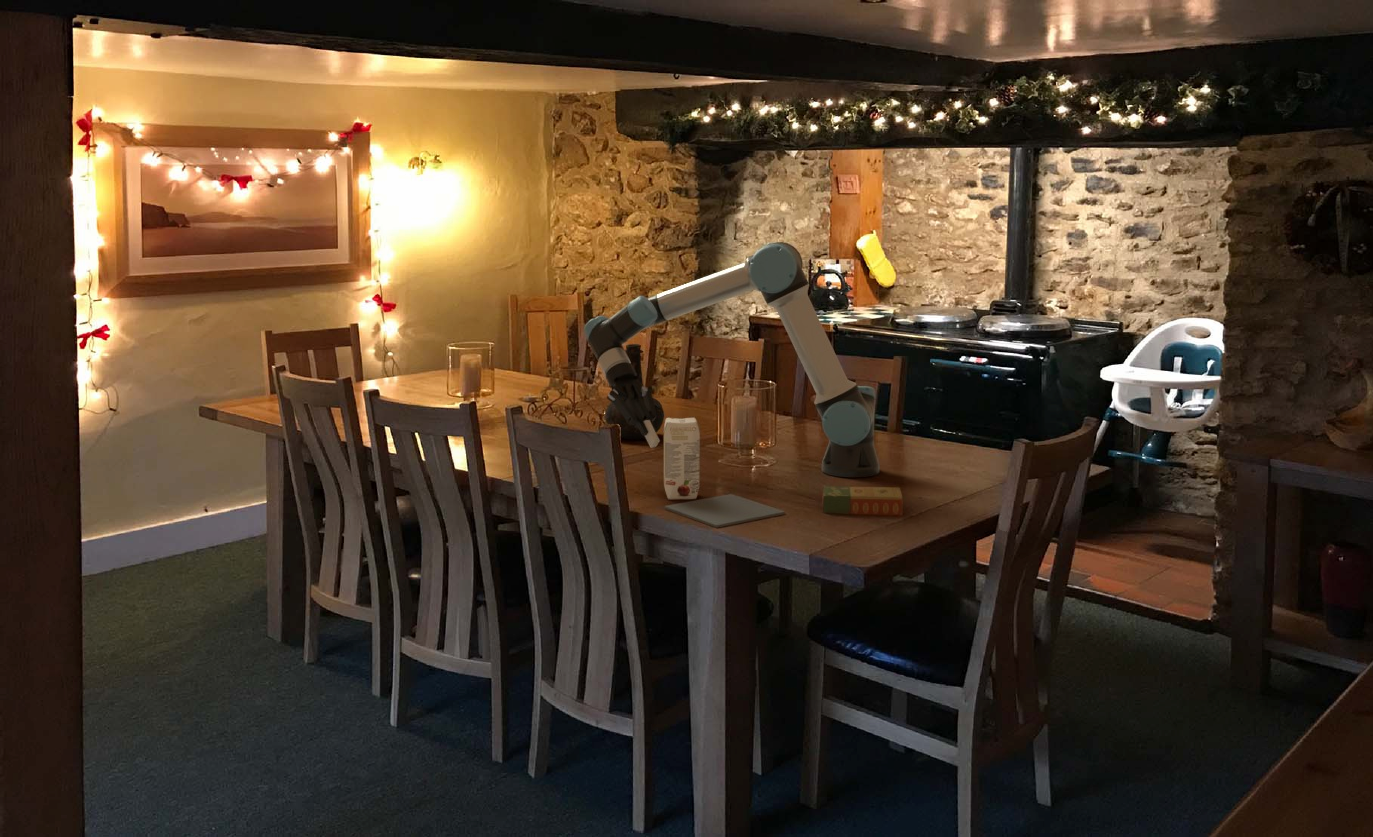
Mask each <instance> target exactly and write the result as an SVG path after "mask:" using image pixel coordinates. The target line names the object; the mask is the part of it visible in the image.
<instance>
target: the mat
mask: <svg viewBox="0 0 1373 837" xmlns="http://www.w3.org/2000/svg"><path fill="white" fill-rule="evenodd" d="M663 506H664V507H663V509H664V510H667V511H668V512H669V511H670V512H672V513H674V514H678V515H680V516H684V517H686V518H688V519H691V520H694V521H697V522H700V523H701V524H704V525H708V526H710V527H713V528H716V529H718V528H721V527H727V526H733V525H738V524H742V523H748V522H753V521H758V520H762V519H769V518H772V517H777V516H782V515H786V510H783V509H779V508H776V507H772V506H769V505H768V504H767V505H766V504H763V503H760V502H757V501H754V500H751V499H748V498H745V497H742V496H739V495H736V494H734V493H733V494H732V493H729V494H723V495H718V496H713V497H708V498H707V497H706V498H702V499H694V500H691V501H690V500H689V501H685V502H679V503H674V504H668V505H663Z"/></svg>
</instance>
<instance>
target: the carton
mask: <svg viewBox="0 0 1373 837" xmlns="http://www.w3.org/2000/svg"><path fill="white" fill-rule="evenodd" d="M821 504H822V505H821V507H822V508H821V509H822V513H823V514H845V515H849V514H851V515H875V516H878V515H879V516H880V515H881V516H903V508H904V507H903V494H902V490H901V487H897V486H895V487H894V486H891V487H889V486H851V485H850V486H847V485H845V486H844V485H842V486H841V485H823V488H822V494H821Z"/></svg>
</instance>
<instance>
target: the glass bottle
mask: <svg viewBox="0 0 1373 837" xmlns="http://www.w3.org/2000/svg"><path fill="white" fill-rule="evenodd" d="M641 347H642V344H637V343H636V344H633V343H630V344H629V343H628V344H626V345H625V349H624V350H625V352H626V354H627V356H628V358H629V360H630V362H631V364H632V366H633V368H634V370H635V372H636V374H637V379H638V381H639V382H640V383H641V384H642V386H643V387H644V381H643V373H642V371H643V370H642V356H641V354H643V353H644V352H645V351H644V350H642V349H641ZM641 394H642V392H641ZM652 398H653V402H654V406H655V410H656V414H657V417H656V418H655V420H654V421H653V424H654V426H655V428H656V433H657V432H659V430H660V429H661V427H662V426H663V423H664V422H665V412H664V409H663V406H662V403H661V402H660V401H659V400H658V399H656V398H654V397H652ZM642 399H643V401H644V396H642ZM604 413H605V414H604V418H605V419H604V420H605V424H606V425H607V424H619V425H620V427H621V438H622V439H625V440H643V439H646V438H645V436H643V435H642V434H641V432H640V430H639V428H635V427H634V426H635V424H633V425H629V423H628V422H627V421H626V420H625V418H624V417H623V416H622V414H621V413H620V412H619V410H618V409H617V408H616V406H615V405H614V404H613V403H612V402H611V401H610V402H609V404H608V405H607V407H606V409H605V412H604Z"/></svg>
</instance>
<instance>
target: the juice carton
mask: <svg viewBox="0 0 1373 837" xmlns="http://www.w3.org/2000/svg"><path fill="white" fill-rule="evenodd" d="M700 436H701V435H700V427H699V423H698V421H697V418H695V417H686V418H677V417H676V418H675V417H666V418H665V419H664V426H663V487H664V490H665V494H666V497H667V500H697V497H698V493H699V489H700V456H701V454H700V453H701V452H700V451H701V450H700V448H701V447H700V443H701V442H700V440H701V438H700Z"/></svg>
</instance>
